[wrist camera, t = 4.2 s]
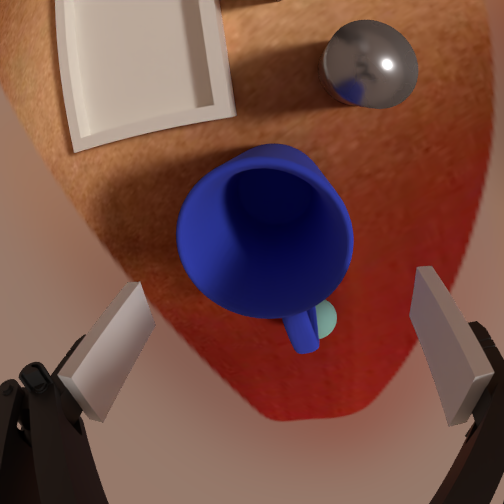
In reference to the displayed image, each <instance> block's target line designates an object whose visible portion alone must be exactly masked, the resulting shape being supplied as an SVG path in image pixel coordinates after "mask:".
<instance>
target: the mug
mask: <svg viewBox="0 0 504 504" xmlns="http://www.w3.org/2000/svg"><path fill="white" fill-rule="evenodd" d="M176 242H177V249H178V253H179V257H180V260H181V262H182V265H183V267H184V269H185V271H186V273H187V274H188V276H189V278H190V279H191V280H192V282H193V283H194V284H195V286H196V287H197V288H198V289H199V290H200V291H201V292H202V293H203V294H204V295H206V296H207V297H208V298H209V299H210V300H212V301H213V302H215V303H216V304H218V305H220V306H221V307H223V308H225V309H227V310H229V311H232V312H235V313H238V314H241V315H244V316H249V317H254V318H265V319H273V318H282V319H283V323H284V326H285V329H286V332H287V334H288V336H289V339H290V341H291V344H292V346H293V348H294V350H295V351H296V352H297V353H299V354H305V353H310V352H313V351H315V350H317V349H318V347H319V335H318V325H317V315H316V307H315V306H316V305H318V304H319V303H321V302H322V301H323V300H325V299H326V298H327V297H328V296H329V295H331V293H332V292H333V291H334V290H335V289H336V288H337V287H338V285H339V284H340V283H341V281H342V279H343V278H344V276H345V274H346V272H347V270H348V267H349V265H350V261H351V257H352V252H353V229H352V224H351V220H350V217H349V214H348V211H347V209H346V207H345V205H344V203H343V201H342V200H341V198H340V196H339V195H338V194H337V192H336V191H335V190H334V188H333V187H332V186H331V184H330V183H329V182H328V180H327V179H326V178H325V176H324V175H323V174H322V172H321V171H320V170H319V169H318V167H317V166H316V165H315V163H314V162H313V161H312V160H311V159H310V158H309V157H308V156H307V155H305V154H304V153H302V152H301V151H299V150H298V149H295V148H293V147H291V146H287V145H283V144H264V145H260V146H257V147H254V148H251V149H249V150H248V151H246V152H244V153H242V154H240V155H238V156H236V157H235V158H233V159H231V160H229V161H227V162H226V163H224V164H222V165H220V166H219V167H217V168H215V169H213V170H212V171H210V172H209V173H207V174H206V175H205V176H204V177H203V178H201V179H200V180H199V181H198V182H197V183H196V184H195V186H194V187H193V188H192V189H191V191H190V192H189V193H188V195H187V197H186V199H185V200H184V202H183V205H182V207H181V209H180V212H179V216H178V220H177V227H176Z"/></svg>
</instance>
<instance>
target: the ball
mask: <svg viewBox="0 0 504 504" xmlns="http://www.w3.org/2000/svg"><path fill="white" fill-rule="evenodd" d="M315 307H316V315H317V325H318V335H319V339H320V338H323V337H326V336H327V335H329V334H330V333H331V332H332V330H333V329H334V327H335V325H336V321H337V315H336V311H335V309H334V307H333V306H332V304H331V303H330V302H328V301H327V300H323V301H322V302H321V303H319V304H318V305H316V306H315Z"/></svg>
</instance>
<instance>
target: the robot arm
mask: <svg viewBox="0 0 504 504" xmlns="http://www.w3.org/2000/svg"><path fill="white" fill-rule="evenodd" d="M409 316H410V319H411V321H412V324H413V326H414V329H415V331H416V333H417V336H418V339H419V341H420V344H421V346H422V349H423V351H424V354H425V357H426V359H427V362H428V365H429V368H430V370H431V373H432V376H433V379H434V382H435V385H436V388H437V391H438V394H439V397H440V400H441V403H442V406H443V409H444V413H445V416H446V419H447V423H448V426H453V425H458V424H462V423H465V422H467V420H468V419H469V417H470V415H471V414H473V417H474V420H475V422H474V423H473V425H472V426H471V428H470V429H469V431H468V432H467V434H466V435H465V436H466V440H465V442H464V444H463V446H462V448H461V450H460V452H459V454H458V456H457V457H456V459H455V461H454V463H453V465H452V467H451V469H450V471H449V472H448V474H447V476H446V477H445V479H444V481H443V483H442V484H441V486H440V487H439V489H438V491H437V492H436V494H435V496H434V497H433V498H432V500H431V502H430V503H429V504H490V502H491V500H492V498H493V495H494V493H495V491H496V489H497V487H498V484H499V482H500V480H501V477H502V475H503V473H504V359H503V357H502V356H501V354H500V352H499V350H498V348H497V347H495V343H494V342H493V340H491V337H490V335H489V333H488V331H487V330H486V328H484V327H483V326H482V325H481V324H480V323H478V322H477V321H475V322H470V323H468V322H467V321H466V319H465V317H464V316H463V314H462V312H461V311H460V309H459V307H458V306H457V304H456V303H455V301H454V299H453V298H452V296H451V295H450V293H449V291H448V290H447V288H446V287H445V285H444V284H443V282H442V281H441V279H440V278H439V276H438V275H437V273H436V272H435V270H434V269H433V267H432V266H424V267H417V269H416V277H415V284H414V291H413V297H412V303H411V309H410V314H409ZM154 327H155V322H154V320H153V317H152V314H151V311H150V309H149V306H148V303H147V300H146V298H145V295H144V292H143V289H142V286H141V283H140V282H127V284H126V285H125V286H124V287H123V289H122V290H121V291H120V292H119V294H118V295H117V296H116V297H115V298H114V300H113V301H112V302H111V303H110V305H109V306H108V307H107V309H106V310H105V311H104V312H103V314H102V315H101V316H100V318H99V319H98V320H97V321H96V323H95V324H94V326H93V327H92V328H91V329H90V331H89V332H88V333H87V335H83V336H82V337H81V338H79V339H78V340H77V341H76V342H75V343H74V345H73V346H72V347H71V350H69V351H68V353H67V354H66V356H65V357H64V358H63V360H62V361H61V362H60V364H59V365H58V367H57V368H56V369H55V371H54V372H53V373H52V375H51V376H50V375H49V373H48V371H47V370H46V368H45V367H44V365H43V364H42V363H40V362H33V363H30V364H28V365H26V366H25V367H24V368H23V369H22V371H21V372H20V374H19V379H20V380H21V382H22V383H23V384H24V386H25V387H21V386H20V385H19V384H18V382H17V381H16V380H14V379H10V380H7V381H5V382H3V383H2V384H1V385H0V504H109V503H108V501H107V498H106V495H105V493H104V490H103V487H102V485H101V481H100V478H99V475H98V472H97V470H96V466H95V463H94V460H93V456H92V453H91V450H90V446H89V442H88V439H87V435H86V431H85V427H84V423H83V420H82V418H81V417H80V415H81V413H82V411H84V413H85V414H86V415H87V416H88V417H89V419H92V420H95V421H99V422H104V420H105V418H106V416H107V414H108V412H109V410H110V408H111V406H112V405H113V403H114V401H115V399H116V397H117V395H118V393H119V391H120V389H121V388H122V386H123V384H124V382H125V380H126V378H127V376H128V374H129V373H130V371H131V369H132V367H133V365H134V363H135V362H136V360H137V358H138V356H139V354H140V352H141V351H142V349H143V347H144V345H145V343H146V342H147V340H148V338H149V336H150V334H151V333H152V331H153V329H154ZM17 422H19V423H20V425H21V426H22V427H21V430H19V429H18V428H17ZM503 504H504V502H503Z"/></svg>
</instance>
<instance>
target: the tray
mask: <svg viewBox="0 0 504 504" xmlns="http://www.w3.org/2000/svg"><path fill="white" fill-rule="evenodd" d="M55 14H56V33H57V46H58V57H59V66H60V74H61V82H62V89H63V96H64V102H65V108H66V114H67V119H68V125H69V130H70V135H71V140H72V144H73V149H74V153H76V152H79V151H83V150H86V149H89V148H93V147H96V146H99V145H103V144H106V143H110V142H114V141H117V140H121V139H125V138H129V137H133V136H137V135H141V134H145V133H150V132H154V131H158V130H163V129H168V128H172V127H177V126H182V125H188V124H193V123H198V122H204V121H210V120H216V119H222V118H229V117H234V116H237V114H236V107H235V100H234V93H233V87H232V80H231V74H230V67H229V60H228V54H227V47H226V41H225V34H224V28H223V21H222V14H221V8H220V2H219V0H55Z"/></svg>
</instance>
